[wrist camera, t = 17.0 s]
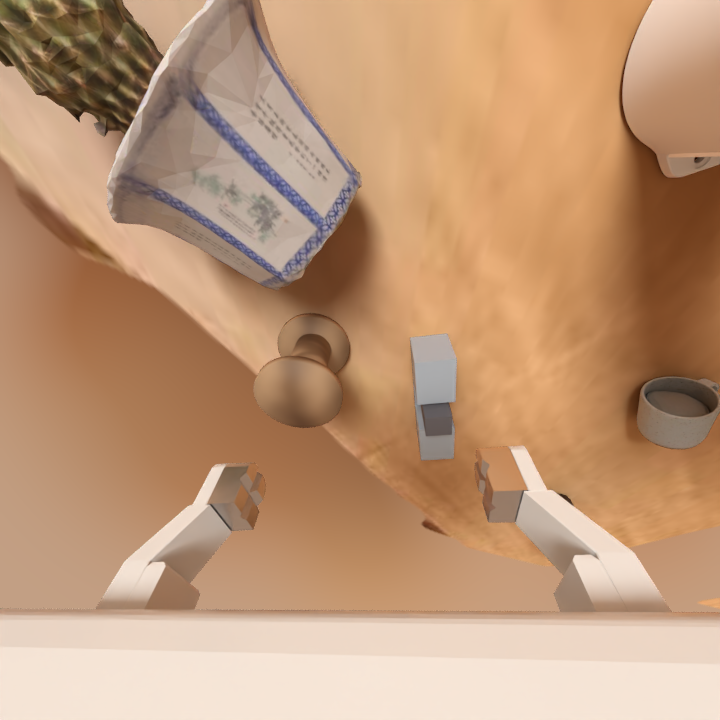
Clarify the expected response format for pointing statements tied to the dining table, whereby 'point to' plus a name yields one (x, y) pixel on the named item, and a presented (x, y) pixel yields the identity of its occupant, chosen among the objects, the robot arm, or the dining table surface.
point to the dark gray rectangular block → (437, 419)
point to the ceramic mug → (677, 411)
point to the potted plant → (193, 127)
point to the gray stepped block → (433, 389)
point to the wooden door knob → (304, 373)
